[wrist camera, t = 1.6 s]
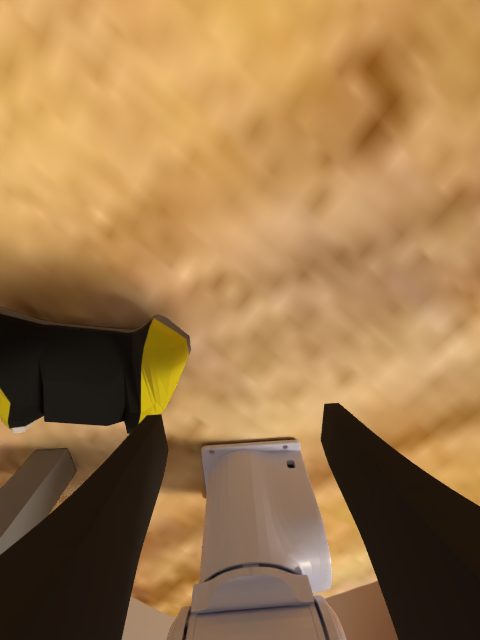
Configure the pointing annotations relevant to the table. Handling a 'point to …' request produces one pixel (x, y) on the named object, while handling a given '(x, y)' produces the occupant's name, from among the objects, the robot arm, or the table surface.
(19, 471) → the posts
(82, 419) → the black yellow sneaker
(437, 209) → the table surface
